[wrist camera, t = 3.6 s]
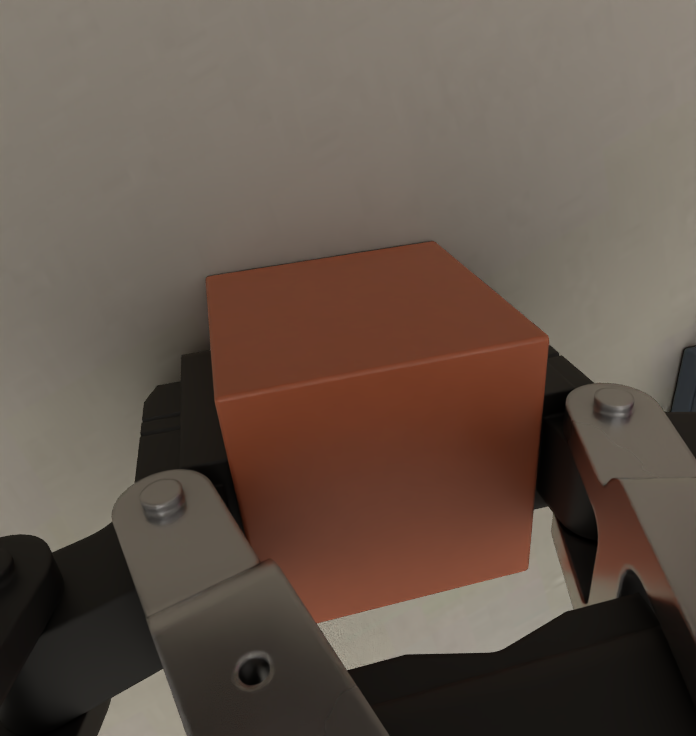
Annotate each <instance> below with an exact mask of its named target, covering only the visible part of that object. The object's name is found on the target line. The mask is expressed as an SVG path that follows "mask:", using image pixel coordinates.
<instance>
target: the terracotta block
mask: <svg viewBox="0 0 696 736" xmlns="http://www.w3.org/2000/svg"><path fill="white" fill-rule="evenodd" d="M206 292H207V306H208V320H209V333H210V347H211V361H212V374H213V388H214V401H215V406H216V410H217V415H218V419H219V424H220V428H221V432H222V437H223V441H224V446H225V450H226V454H227V459H228V463H229V468H230V472H231V476H232V481H233V485H234V490H235V494H236V498H237V503H238V507H239V512H240V516H241V520H242V525H243V529H244V534H245V537H246V539H247V540H248V542H249V544H250V545H251V547H252V548H253V550H254V552H255V553H256V555H257V556H258V558H259V560H260V561H261V562H262V561H264V560H266V559H268V558H271V559H273V560H274V561H275V562H276V563H277V564H278V566H279V567H280V568H281V570H282V571H283V573H284V574H285V576H286V577H287V579H288V581H289V582H290V584H291V585H292V587H293V588H294V590H295V591H296V593H297V594H298V596H299V597H300V599H301V601H302V602H303V604H304V605H305V607H306V608H307V610H308V611H309V613H310V614H311V616H312V617H313V619H314V620H315V622H316V623H320V622H324V621H328V620H332V619H336V618H340V617H344V616H348V615H352V614H356V613H360V612H364V611H368V610H371V609H375V608H379V607H383V606H387V605H391V604H395V603H399V602H403V601H407V600H411V599H415V598H419V597H423V596H427V595H431V594H435V593H439V592H443V591H447V590H451V589H455V588H459V587H463V586H466V585H470V584H474V583H478V582H482V581H486V580H490V579H494V578H498V577H502V576H506V575H510V574H514V573H518V572H522V571H526V570H527V569H528V565H529V554H530V544H531V533H532V522H533V511H534V500H535V489H536V478H537V467H538V457H539V446H540V435H541V424H542V413H543V402H544V391H545V381H546V370H547V359H548V348H549V337H548V335H547V334H546V333H544V332H543V331H542V330H541V329H540V328H538V327H537V326H536V325H535V324H534V323H532V322H531V321H530V320H529V319H527V318H526V317H525V316H524V315H523V314H521V313H520V312H519V311H518V310H517V309H515V308H514V307H513V306H512V305H511V304H509V303H508V302H507V301H506V300H505V299H503V298H502V297H501V296H500V295H499V294H497V293H496V292H495V291H494V290H493V289H491V288H490V287H489V286H488V285H487V284H485V283H484V282H483V281H482V280H480V279H479V278H478V277H477V276H476V275H474V274H473V273H472V272H471V271H470V270H468V269H467V268H466V267H465V266H464V265H462V264H461V263H460V262H459V261H458V260H456V259H455V258H454V257H453V256H452V255H450V254H449V253H448V252H447V251H446V250H444V249H443V248H442V247H441V246H440V245H438V244H437V243H436V242H434V241H431V242H424V243H418V244H412V245H405V246H399V247H392V248H386V249H380V250H373V251H367V252H360V253H354V254H348V255H341V256H335V257H329V258H322V259H316V260H309V261H303V262H297V263H290V264H284V265H277V266H271V267H265V268H258V269H252V270H245V271H239V272H233V273H226V274H220V275H214V276H208V277H207V278H206Z"/></svg>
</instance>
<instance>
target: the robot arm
mask: <svg viewBox="0 0 696 736" xmlns="http://www.w3.org/2000/svg"><path fill="white" fill-rule="evenodd" d="M142 421H143V423H142V425H141V437H140V442H139V450H138V459H137V468H136V476H135V483H134V484H133V485H132V486H130V487H129V488H128V489H127V490H125V491H124V492H123V493H122V494H121V496H120V497H119V498H118V499H117V501H116V503H115V504H114V507H113V510H112V522H111V523H110V524H109V525H107V526H106V527H105V528H103V529H101V530H100V531H98V532H96V533H95V534H93V535H90V536H88V537H86V538H84V539H82V540H80V541H77V542H75V543H73V544H71V545H68V546H66V547H64V548H62V549H59V550H57V551H55V552H53V553H52V552H51V550H50V548H49V546H48V544H47V543H46V542H45V541H44V540H42V539H40V538H38V537H36V536H32V535H22V534H19V535H10V536H5V537H0V736H97V735H98V733H99V730H100V728H101V725H102V723H103V720H104V718H105V716H106V713H107V711H108V708H109V705H110V701H111V698H112V697H114V696H116V695H117V694H119V693H121V692H123V691H124V690H126V689H128V688H130V687H131V686H133V685H135V684H137V683H139V682H140V681H142V680H144V679H146V678H147V677H149V676H151V675H153V674H154V673H156V672H158V671H160V670H161V669H164V672H165V675H166V678H167V681H168V683H169V686H170V689H171V692H172V695H173V698H174V701H175V703H176V706H177V709H178V712H179V715H180V718H181V721H182V723H183V726H184V729H185V732H186V735H187V736H696V412H664V411H663V409H662V408H661V406H660V405H659V404H658V403H657V401H656V400H655V399H653V398H652V397H651V396H649V395H648V394H646V393H644V392H642V391H640V390H637V389H635V388H632V387H628V386H625V385H619V384H612V383H594V382H592V381H591V380H590V379H589V378H588V377H587V376H585V375H584V374H583V373H582V372H581V371H580V370H578V369H577V368H576V367H575V366H574V365H572V364H571V363H570V362H569V361H568V360H567V359H565V358H564V357H563V356H559V353H558V352H557V351H556V350H555V349H554V348H553V347H551V346H550V345H549V348H548V359H547V370H546V381H545V391H544V402H543V413H542V424H541V435H540V446H539V457H538V467H537V478H536V489H535V500H534V509H539V508H543V507H547V506H549V508H550V509H551V510H552V512H553V519H552V528H551V533H552V538H553V541H554V545H555V548H556V551H557V555H558V558H559V562H560V565H561V568H562V572H563V575H564V579H565V582H566V585H567V589H568V592H569V596H570V599H571V602H572V606H573V609H574V610H571V611H567V612H565V613H563V614H562V615H560V616H558V617H557V618H555V619H553V620H551V621H550V622H548V623H546V624H545V625H543V626H541V627H540V628H538V629H536V630H535V631H533V632H531V633H530V634H528V635H526V636H525V637H523V638H521V639H520V640H518V641H516V642H515V643H513V644H511V645H510V646H508V647H506V648H505V649H502V650H500V651H497V652H491V653H458V654H413V655H403V656H399V657H395V658H392V659H388V660H384V661H380V662H377V663H373V664H369V665H366V666H362V667H358V668H354V669H351V670H346V668H345V667H344V665H343V664H342V662H341V660H340V659H339V657H338V656H337V654H336V653H335V651H334V650H333V648H332V647H331V645H330V644H329V642H328V640H327V639H326V637H325V636H324V634H323V633H322V631H321V630H320V628H319V627H318V625H317V624H316V622H315V620H314V619H313V617H312V616H311V614H310V613H309V611H308V610H307V608H306V607H305V605H304V604H303V602H302V601H301V599H300V597H299V596H298V594H297V593H296V591H295V590H294V588H293V587H292V585H291V584H290V582H289V581H288V579H287V577H286V576H285V574H284V573H283V571H282V570H281V568H280V567H279V566H278V564H277V563H276V562H275V561H274V560H273V559H271V558H268V559H266V560H264V561H262V562H261V561H260V560H259V558H258V556H257V555H256V553H255V552H254V550H253V548H252V547H251V545H250V544H249V542H248V540H247V539H246V537H245V534H244V529H243V525H242V520H241V516H240V512H239V507H238V503H237V498H236V494H235V490H234V485H233V481H232V476H231V472H230V468H229V463H228V459H227V454H226V450H225V446H224V441H223V437H222V432H221V428H220V424H219V419H218V415H217V410H216V406H215V401H214V388H213V374H212V361H211V350H208V351H202V352H197V353H191V354H185V355H182V356H181V381H180V382H174V383H169V384H163V385H158V386H157V387H156V388H155V389H154V391H153V392H152V393H151V394H150V396H149V397H148V398H147V399H146V401H145V402H144V408H143V416H142Z"/></svg>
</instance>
